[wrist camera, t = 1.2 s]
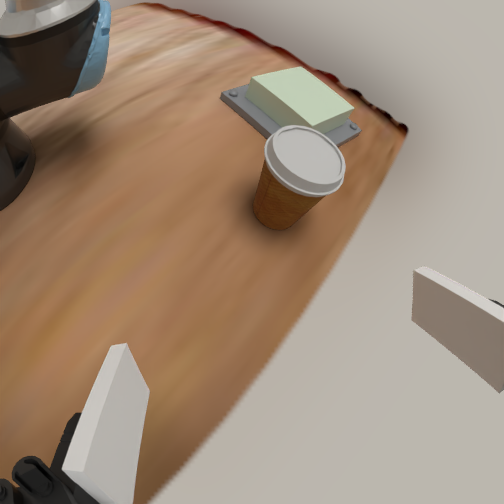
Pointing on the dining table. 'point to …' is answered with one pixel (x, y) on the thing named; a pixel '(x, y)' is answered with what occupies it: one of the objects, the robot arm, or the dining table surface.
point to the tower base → (293, 105)
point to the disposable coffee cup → (296, 175)
